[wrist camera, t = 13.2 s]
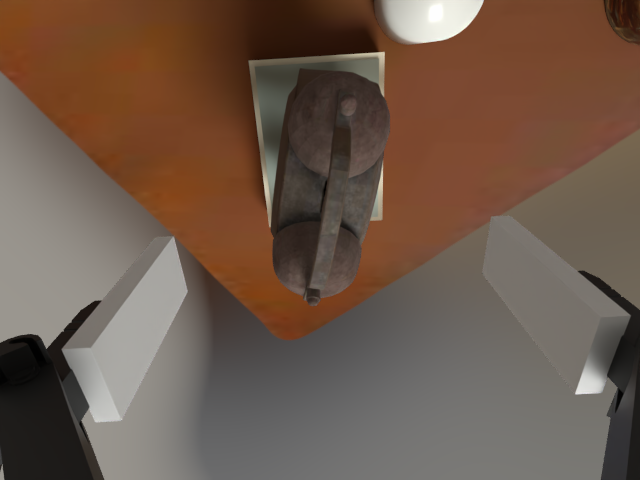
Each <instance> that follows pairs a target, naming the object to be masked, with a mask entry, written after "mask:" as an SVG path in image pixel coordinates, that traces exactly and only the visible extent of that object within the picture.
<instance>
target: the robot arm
mask: <svg viewBox="0 0 640 480" xmlns="http://www.w3.org/2000/svg"><path fill="white" fill-rule="evenodd" d="M482 274H483V275H484V277H485V278H486V279H487V281H488V282H489V283H490V284H491V286H492V287H493V288H494V289H495V291H496V292H497V294H498V295H499V296H500V297H501V299H502V300H503V301H504V303H505V304H506V305H507V307H508V308H509V309H510V310H511V312H512V313H513V314H514V316H515V317H516V318H517V320H518V321H519V322H520V323H521V325H522V326H523V327H524V329H525V330H526V331H527V333H528V334H529V335H530V336H531V338H532V339H533V340H534V342H535V343H536V344H537V346H538V347H539V348H540V349H541V351H542V352H543V353H544V354H545V356H546V357H547V359H548V360H549V361H550V362H551V364H552V365H553V366H554V368H555V369H556V370H557V371H558V373H559V374H560V375H561V377H562V378H563V379H564V381H565V382H566V383H567V384H568V386H569V387H570V388H571V390H572V391H573V392H574V394H589V393H602V391H603V388H604V385H605V383H606V380H607V378H608V377H609V378H610V379H611V381H612V382H613V383H614V384H615V385H616V386H617V387H618V388H617V391H616V393H615V396H614V398H613V401H612V403H611V406H610V408H609V411H608V413H607V416H608V417H610V418H611V419H610V425H609V432H608V438H607V444H606V451H605V457H604V463H603V470H602V476H601V480H640V310H639V309H638V308H637V307H635V306H634V305H632V304H631V303H630V302H629V301H628V300H626V299H625V298H624V297H621V295H620V294H619V293H617V292H616V291H615V290H613V289H611V287H610V286H609V285H607V284H606V283H605V282H604V281H602V280H601V279H600V278H597V277H596V276H593V275H591V274H589V273H587V272H585V271H576V270H575V269H574V268H573V267H571V266H570V265H569V264H568V263H566V262H565V261H564V260H563V259H562V258H560V257H559V256H558V255H557V254H556V253H554V252H553V251H552V250H551V249H550V248H548V247H547V246H546V245H545V244H544V243H543V242H541V241H540V240H539V239H538V238H536V237H535V236H534V235H533V234H532V233H530V232H529V231H528V230H527V229H526V228H524V227H523V226H522V225H521V224H520V223H518V222H517V221H516V220H515V219H513V218H512V217H511V216H493V217H491V221H490V227H489V234H488V241H487V247H486V253H485V260H484V266H483V273H482ZM187 292H188V291H187V287H186V283H185V279H184V275H183V271H182V267H181V263H180V260H179V256H178V252H177V247H176V243H175V239H174V236H165V237H155V238H154V239H153V240H152V241H151V243H150V244H149V245H148V246H147V247H146V249H145V250H144V251H143V252H142V253H141V255H140V256H139V257H138V258H137V259H136V261H135V262H134V263H133V264H132V266H131V267H130V268H129V269H128V270H127V271H126V273H125V274H124V275H123V276H122V277H121V279H120V280H119V281H118V282H117V283H116V285H115V286H114V287H113V288H112V290H111V291H110V292H109V293H108V294H107V295H106V297H105V298H104V299H103V300H102V301H94V302H92V303H91V304H90V305H88V306H87V307H85V308H84V309H82V310H81V311H80V312H79V313H78V314H77V315H76V316H75V318H74V319H73V320H72V323H69V324H68V325H67V327H66V328H65V329H64V332H61V333H60V334H59V336H58V337H57V338H56V339H55V340H54V341H53V342H52V343H51V345H50V346H49V347H48V348H47V349H46V347H45V346H44V343H43V341H42V339H41V338H40V337H39V336H38V335H33V334H27V335H20V336H17V337H14V338H10V339H7V340H6V341H3V342H1V343H0V470H1V466H2V464H3V471H4V479H5V480H104V478H103V475H102V472H101V470H100V467H99V464H98V462H97V459H96V456H95V454H94V451H93V448H92V446H91V443H90V440H89V438H88V435H87V432H86V430H85V427H84V425H83V423H82V421H81V420H82V418H83V417H84V415H85V413H86V412H87V410H88V409H89V410H90V412H91V414H92V416H93V418H94V420H95V422H109V421H122V419H123V417H124V415H125V413H126V411H127V409H128V407H129V405H130V403H131V401H132V400H133V397H134V396H135V394H136V392H137V390H138V388H139V386H140V384H141V382H142V380H143V378H144V376H145V374H146V372H147V370H148V368H149V366H150V364H151V362H152V360H153V358H154V356H155V355H156V353H157V351H158V348H159V347H160V345H161V343H162V341H163V339H164V337H165V335H166V333H167V331H168V329H169V327H170V325H171V323H172V321H173V319H174V317H175V315H176V313H177V311H178V310H179V308H180V306H181V304H182V301H183V300H184V298H185V296H186V294H187Z"/></svg>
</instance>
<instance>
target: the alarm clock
mask: <svg viewBox="0 0 640 480" xmlns="http://www.w3.org/2000/svg"><path fill="white" fill-rule="evenodd" d="M389 133H390V114H389V110H388V107H387V103H386V100H385V98H384V97H383V95H382V94H381V90H380V87H379V85H378V84H377V83H376V82H373V81H370V80H368V79H367V78H365V77H363V76H360V75H358V74H356V73H353V72H346V71H330V70H313V69H303V68H300V70H299V74H298V79H297V85H296V86H295V87H294V88H293V90H292V91H291V92H290V94H289V95H288V99H287V103H286V109H285V114H284V120H283V127H282V133H281V139H280V147H279V154H278V161H277V169H276V177H275V185H274V194H273V203H272V214H271V233H272V235H273V237H274V240H273V266H274V270H275V273H276V275H277V277H278V279H279V280H280V282H281V283H282V284H283V285H284V286H285V287H287V288H288V289H289V290H291V291H293V292H295V293H296V294H299V295H302V296H303V300H306V301H307V302H308V304H309V305H310V306H316V305H317V304H318V303H319V302H320V298H323V297H329V296H332V295H335V294H337V293H340V292H341V291H343V290H344V289H346V288H347V287H348V286H349V285H350V284H351V283H352V282H353V280H354V278H355V276H356V274H357V270H358V267H359V263H360V258H361V244H362V242H363V240H364V237H365V235H366V232H367V229H368V226H369V222H370V219H371V215H372V211H373V207H374V203H375V199H376V195H377V190H378V186H379V181H380V176H381V170H382V163H383V156H384V148H385V145H386V142H387V139H388V136H389Z"/></svg>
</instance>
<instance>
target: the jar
mask: <svg viewBox="0 0 640 480" xmlns="http://www.w3.org/2000/svg"><path fill="white" fill-rule="evenodd" d="M605 8H606V14H607V18H608V20H609V23H610V25H611V27H612V28H613V30H614V31H615V32H616V34H617V35H618V36H619V37H621V38H622V39H623V40H625V41H627V42H629V43H632V44H635V45H640V0H605Z"/></svg>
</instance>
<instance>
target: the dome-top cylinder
mask: <svg viewBox="0 0 640 480" xmlns="http://www.w3.org/2000/svg"><path fill="white" fill-rule="evenodd" d="M483 1H484V0H374V11H375V16H376V20H377V22H378V25H379V26H380V28H381V30H382V31H383V32H384V34H385V35H386V36H387V37H389V38H390V39H391V40H393V41H395V42H397V43H400V44H406V45H411V44H419V43H426V42H433V41H441V40H445V39H448V38H450V37H453V36H455V35H456V34H458V33H460V32H461V31H462V30H463V29H465V28H466V27H467V26H468V25H469V24H470V23H471V21H472V20H473V19H474V18H475V16H476V15H477V13H478V12H479V10H480V8H481V6H482V4H483Z"/></svg>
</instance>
